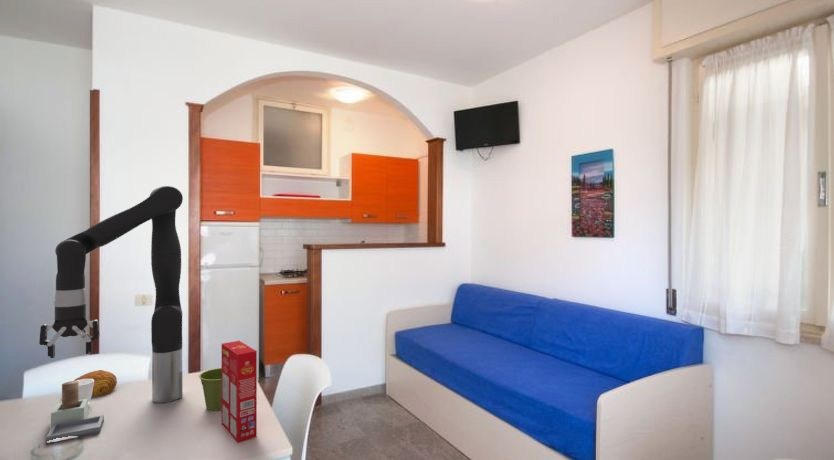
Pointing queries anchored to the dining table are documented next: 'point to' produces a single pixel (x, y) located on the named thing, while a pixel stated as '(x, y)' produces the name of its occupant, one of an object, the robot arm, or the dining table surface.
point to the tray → (76, 428)
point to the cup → (85, 389)
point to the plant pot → (212, 388)
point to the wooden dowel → (70, 395)
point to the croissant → (101, 381)
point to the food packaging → (239, 390)
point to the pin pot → (69, 413)
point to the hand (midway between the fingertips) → (70, 355)
